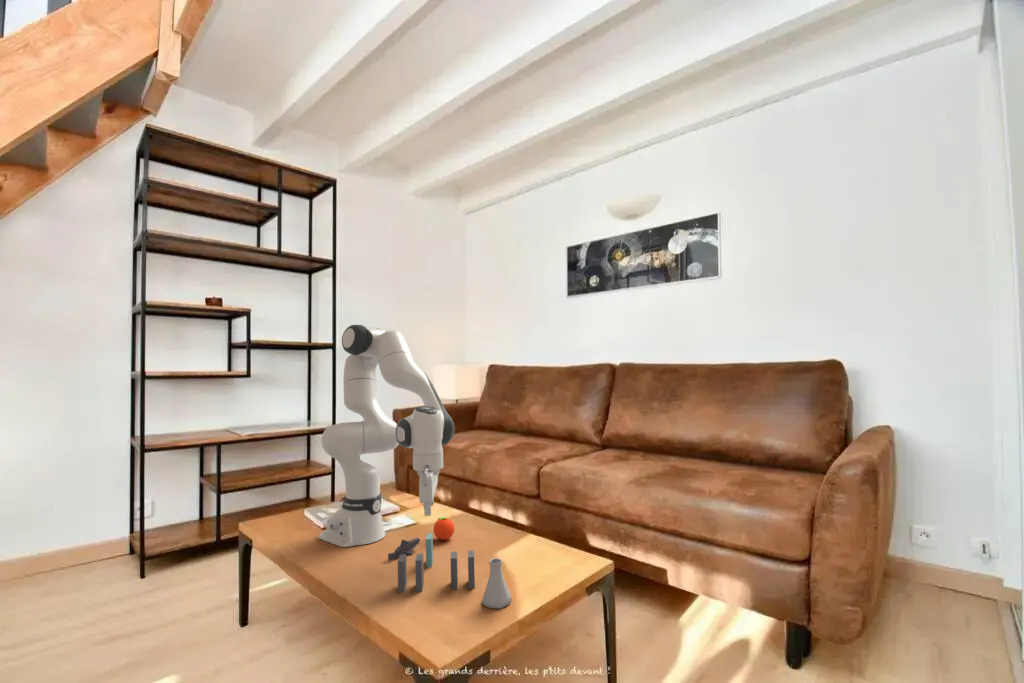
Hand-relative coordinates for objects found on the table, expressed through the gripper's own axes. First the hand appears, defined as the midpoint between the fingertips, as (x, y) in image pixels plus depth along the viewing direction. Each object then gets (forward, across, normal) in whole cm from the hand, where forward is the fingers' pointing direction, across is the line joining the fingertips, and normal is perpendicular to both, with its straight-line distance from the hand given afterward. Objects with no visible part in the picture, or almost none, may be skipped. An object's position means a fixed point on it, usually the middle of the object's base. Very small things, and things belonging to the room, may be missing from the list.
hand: (429, 510), depth 141 cm
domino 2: (+16, -14, +2) cm, 21 cm away
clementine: (+16, +20, -3) cm, 25 cm away
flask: (+16, -24, -18) cm, 34 cm away
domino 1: (+16, -14, +6) cm, 22 cm away
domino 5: (+16, -14, -12) cm, 24 cm away
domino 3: (+16, 0, 0) cm, 16 cm away
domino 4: (+16, -14, -7) cm, 23 cm away
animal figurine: (+16, +8, +8) cm, 20 cm away
